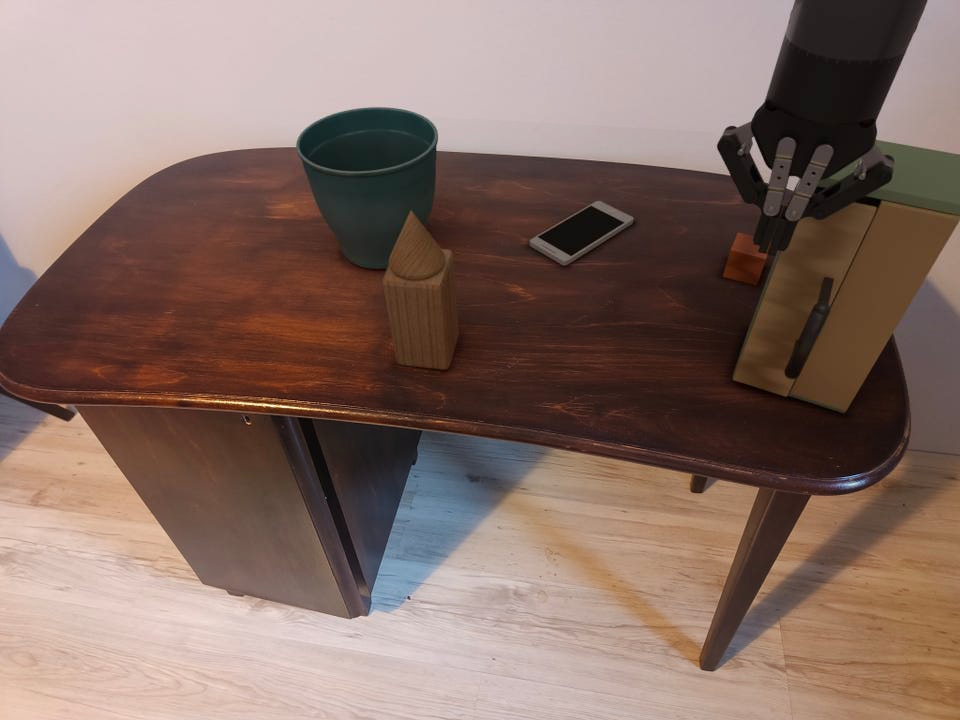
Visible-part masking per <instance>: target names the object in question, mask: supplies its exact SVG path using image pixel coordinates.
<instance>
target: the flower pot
mask: <svg viewBox="0 0 960 720" xmlns="http://www.w3.org/2000/svg"><path fill="white" fill-rule="evenodd" d="M438 141H439V132H438V129H437V127H436V125H435V124H434V123H433V122H432V121H431V120H430V119H429V118H427V117H425V116H424V115H421V114H419V113H418V112H414V111H411V110H407V109H401V108H396V107H383V106H382V107H381V106H372V107H371V106H370V107H360V108H352V109H347V110H343V111H338V112H335V113H332V114H330V115H327V116H324V117H322V118H320V119H318V120H316V121H314V122H313V123H311V124H309V125H308V126H307V127H306V128H305V129H303V130H302V132H301V133H300V134H299V136H298V137H297V139H296V142H295V143H296V145H295V147H296V148H295V149H296V152H297V155H298V157H299V159H300V160H301V163H302V166H303V169H304V172H305V175H306V177H307V181H308V183H309V186H310V190H311V192H312V196H313V199H314V201H315V205H316V206H317V209H318V210H319V212H320V214H321V216H322V218H323V220H324V221H325V223H326V224H327V226H328V228H329V229H330V230H331V232H332V233H333V235H334V236H335V238H336V240H337V241H338V242H339V244H340V247H341V252H342V255H343V256H344V257H345V258H346V259H347V260H348V261H349V263H352V264H354V265H356V266H358V267H361V268H364V269H371V270H384V269H386V270H387V268H388V266H389V258H390V255H391V253H392V250H393V248H394V246H395V244H396V242H397V239H398V237H399V235H400V233H401V231H402V228H403V226H404V224H405V222H406V220H407V217H408V215H409V213H410V211H412V212H413V213H414V214H415V216H416V217H417V218H418V220H419V221H420V222H421V223H422V225H423V226H424V227H425V229H426V230H427V225H428V221H429V219H430V215H431V213H432V209H433V205H434V200H435V193H436V176H437V145H438Z"/></svg>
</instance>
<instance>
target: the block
mask: <svg viewBox="0 0 960 720" xmlns="http://www.w3.org/2000/svg"><path fill="white" fill-rule="evenodd" d="M753 237H754V235H751V234H747V233H743V232H737V233H736V236H735V239H734V241H733V244H732V246H731V248H730V250H729V254H728V258H727V261H726V264H725V266H724V267H725V268H724V270H723V273H722V278H725V279H729V280H733V281H737V282H740V283H744V284H748V285H751V286H756V287H757V286H758V283H759V280H760V278H761V276H762V272H763V269H764V267H765V263H766V262H767V258H768V254H767V253H766V254H764V253H760V252H758V250H759V247H760V246H758V245H754V243H753ZM771 241H772V239H771ZM770 243H771V242H770ZM769 246H770V245H769ZM768 249H769V247H768ZM767 252H768V250H767Z"/></svg>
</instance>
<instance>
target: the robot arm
mask: <svg viewBox="0 0 960 720" xmlns="http://www.w3.org/2000/svg"><path fill="white" fill-rule="evenodd" d="M928 1H929V0H794V2H793V6H792V9H791V10H790V14H789V18H788V19H789V20H788V23H787V26H786V30H785V33H784V36H783V39H782V42H781V45H780V50H779V53H778V56H777V59H776V63H775V66H774V69H773V72H772V76H771V80H770V83H769V86H768V89H767V92H766V96H765V99H764V101H763V103H762V104H761V105H760V106H759V107H758V108H757V110H756V111H755V112H754V115H753V117H752V119H751V121H749V122H746V123H743V124H742V125H740V126H735V125H729V126H727V127H726V128H725V129H724V130H723V132H722V134H721V136H720V138H719V140H718V142H717V144H716V149H717V151H718V153H719V155H720V156H721V160H722V161H723V163H724V165H725V167H726V169H727V171H728V173H729V174H730V177H731V179H732V181H733V183H734V185H735V187H736V189H737V191H738V193H739V195H740V197H741V200H742V201H743V202H744V203H745V204H747V205H755V206H756V207H758V208H759V209H760V217H759V220H758V223H757V225H756V228H755V232H754V235H753V236H754V237H753V243H754V245H758V246H760V247H759V250H758V252H760V253H764V254H766V253H767V254H768V255H769V256H772V257H775V256H776V254H777V251H778V250H779V251H783V252H784V251H785V250H786V249H787V248H788V246H789V244H790V241H791V239H792V236H793V234H794V231H795V228H796V226H797V223H798V222H799V220H801V219H802V218H805V217H813V218H815V219H817V220H822V219H825V218H827V217H829V216H830V215H832V214H834V213H836V212H837V211H839V210H841V209H843V208H845V207H846V206H848V205H850V204H852V203H854V202H855V201H857V200H859V199H861V198H862V197H864V196H866V195H868V194H870V193H871V192H873V191H875V190H877V189H879V188H880V187H882V186H884V185H886V184H887V183H889V182H890V181H891V179H892V175H893V171H894V158H893V157H892V156H890V155H884V154H883V153H882V152H881V151H880V149H879V148H878V147H877V146H876V145H875V142H876V140H877V136H878V127H877V120H878V117H879V115H880V113H881V110H882V108H883V106H884V104H885V101H886V99H887V97H888V95H889V92H890V90H891V87H892V85H893V83H894V80H895V79H896V76H897V74H898V72H899V69H900V67H901V65H902V62H903V59H904V57H905V55H906V53H907V50H908V48H909V46H910V43H911V42H912V39H913V37H914V35H915V33H916V31H917V29H918V26H919V24H920V22H921V18H922V16H923V14H924V12H925V9H926V6H927V4H928ZM753 139H754V141H755V143H756V145H757V148H758V150H759V152H760V154H761V157H762V160H763V162H764V163H765V166H766V167H767V168H768V169H769V170H770V171H771V172H770V173H771V174H770V176H769V180H768V184H766V183H765V180H764V179H763V177H762V175H761V172H760V171H759V168H758V166H757V164H756V162H755V160H754V158H753V156H752V153H751V150H752V148H753V145H754V141H753ZM860 157H861V160H860V161H858V162H857V163H856V165H855V169H854V172H853V173H851V174H850V175H848V176H846V177H845V178H843V179H841V180H840V181H838V182H836V183H834V184H833V185H831V186H829V187H828V188H826V189H824V190H823V191H821V192H819V193H818V194H813V193H814V191H815V189H816V187H817V185H818V183H819V181H820V180H824V179H827V178H829V177H831V176H832V175H834V174H836V173H837V172H839V171H840V170H842V169H843V168H845V167H846V166H848V165H849V164H851V163H852V162H854V161H855V160H857V159H859V158H860ZM790 177H796V178H798V180H797V183H796V184H795V186H794V189H793V191H792V194H791V195H790V198H789V199H788V201H787V203H786V205H784V204H783V201H784V198H785V196H786V191H787V187H788V183H789V180H790ZM771 240H772V241H771ZM770 242H771V243H770ZM769 245H770V246H769ZM768 247H769V249H768ZM767 250H768V252H767Z"/></svg>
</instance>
